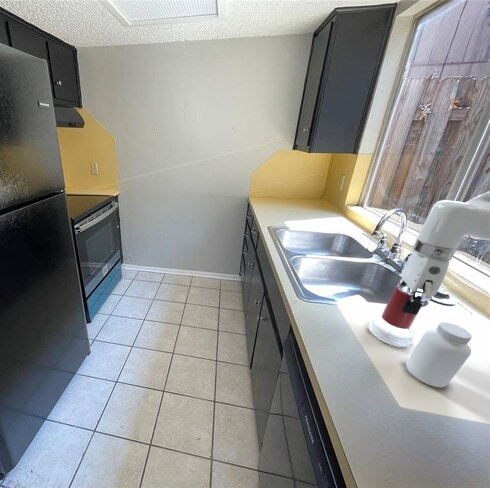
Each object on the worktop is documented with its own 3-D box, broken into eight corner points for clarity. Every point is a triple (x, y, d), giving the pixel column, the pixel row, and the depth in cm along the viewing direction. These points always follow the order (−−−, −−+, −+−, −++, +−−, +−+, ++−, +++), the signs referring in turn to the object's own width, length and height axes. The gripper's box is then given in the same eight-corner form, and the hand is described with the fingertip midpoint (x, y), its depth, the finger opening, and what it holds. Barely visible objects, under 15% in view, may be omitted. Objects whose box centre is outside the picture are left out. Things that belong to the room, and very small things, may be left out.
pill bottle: (437, 393, 61) (471, 346, 55) (398, 367, 68) (424, 322, 61) (453, 382, 64) (487, 336, 58) (415, 358, 71) (441, 314, 64)
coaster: (415, 352, 72) (421, 343, 71) (373, 341, 76) (378, 332, 74) (401, 329, 81) (406, 320, 80) (364, 320, 84) (368, 311, 83)
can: (405, 318, 78) (421, 287, 73) (413, 332, 72) (431, 300, 68) (378, 311, 80) (393, 281, 76) (384, 324, 75) (400, 293, 70)
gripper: (472, 267, 58) (434, 328, 65) (436, 240, 72) (408, 293, 80) (429, 259, 60) (398, 319, 68) (403, 235, 75) (379, 286, 82)
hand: (404, 304), depth 74 cm, fingers closed on can, 6 cm apart
